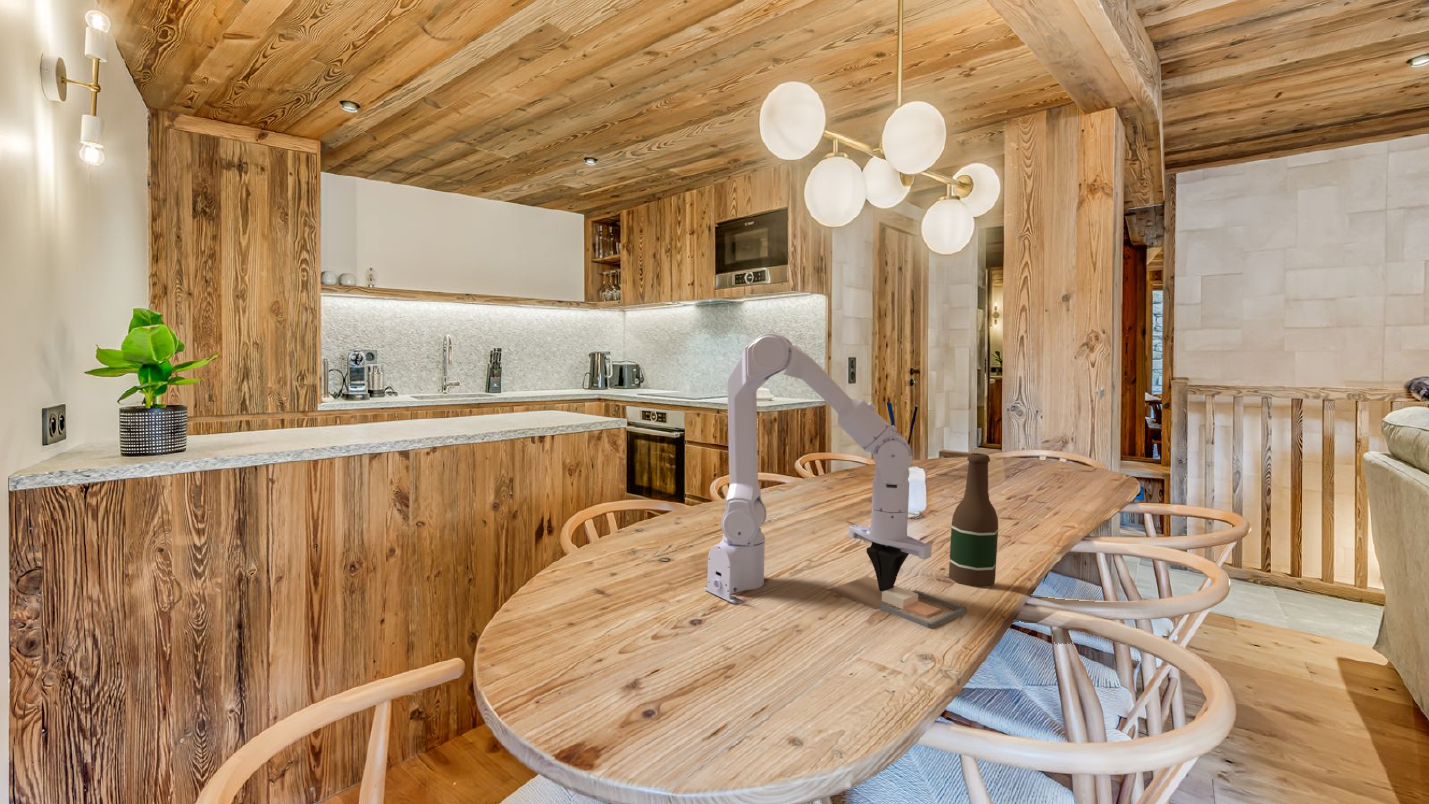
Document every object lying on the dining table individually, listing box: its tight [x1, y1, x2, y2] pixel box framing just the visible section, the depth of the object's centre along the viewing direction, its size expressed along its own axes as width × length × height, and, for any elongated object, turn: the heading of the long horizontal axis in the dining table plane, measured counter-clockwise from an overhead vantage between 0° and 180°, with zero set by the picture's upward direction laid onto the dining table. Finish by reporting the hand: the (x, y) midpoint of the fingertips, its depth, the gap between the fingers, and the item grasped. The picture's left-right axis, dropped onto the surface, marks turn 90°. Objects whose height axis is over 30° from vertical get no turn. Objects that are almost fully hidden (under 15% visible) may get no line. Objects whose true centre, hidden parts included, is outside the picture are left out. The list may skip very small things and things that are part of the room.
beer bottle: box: [948, 452, 999, 588], centre depth 113 cm, size 8×8×24 cm
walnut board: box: [826, 575, 904, 610], centre depth 107 cm, size 11×10×2 cm
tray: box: [878, 590, 968, 629], centre depth 100 cm, size 10×9×2 cm
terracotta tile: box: [903, 600, 942, 618], centre depth 100 cm, size 4×4×2 cm
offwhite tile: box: [882, 586, 919, 610], centre depth 103 cm, size 4×4×2 cm
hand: (886, 590), depth 105 cm, fingers closed
